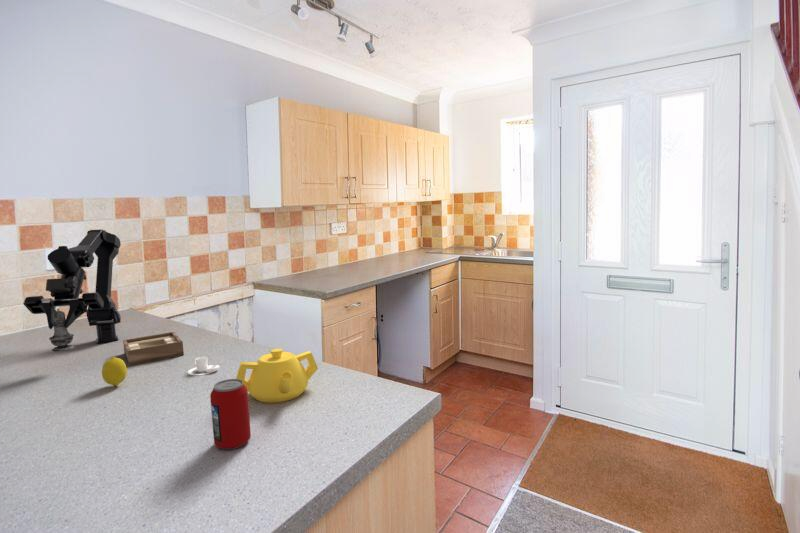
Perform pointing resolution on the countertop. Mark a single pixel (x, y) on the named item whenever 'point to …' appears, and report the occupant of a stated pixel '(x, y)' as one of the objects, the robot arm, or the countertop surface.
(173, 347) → the walnut box
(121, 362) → the lemon
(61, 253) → the robot arm
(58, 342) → the grey stone tall piece
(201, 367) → the teacup and saucer
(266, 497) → the countertop surface
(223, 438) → the beverage can
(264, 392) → the teapot
